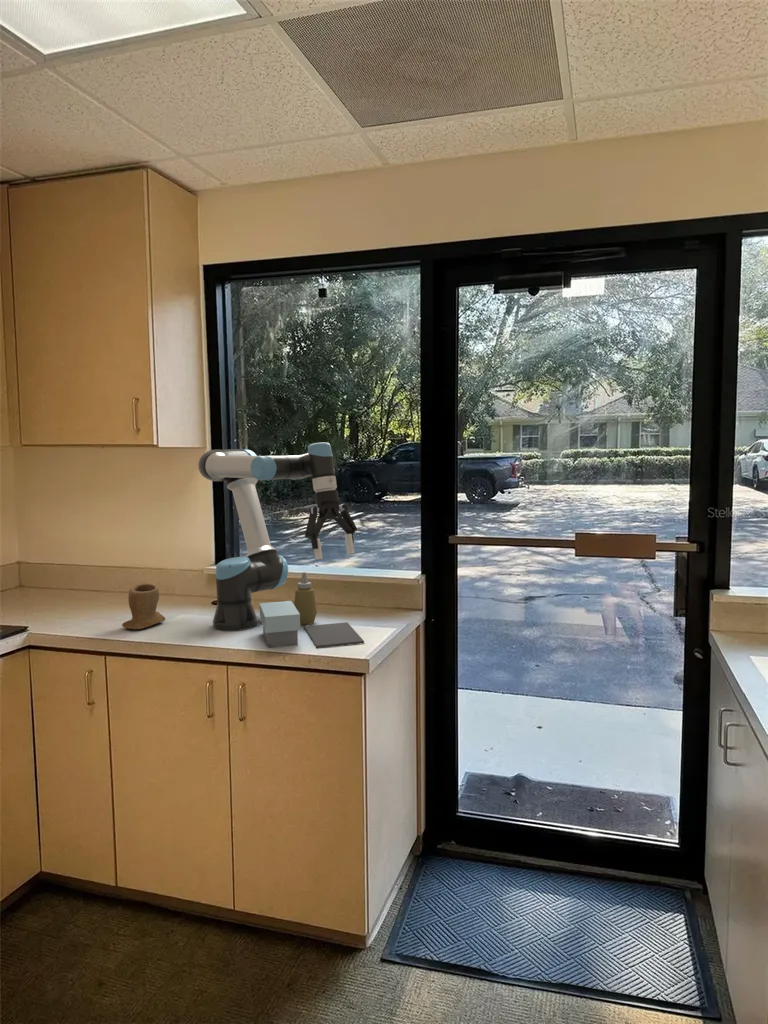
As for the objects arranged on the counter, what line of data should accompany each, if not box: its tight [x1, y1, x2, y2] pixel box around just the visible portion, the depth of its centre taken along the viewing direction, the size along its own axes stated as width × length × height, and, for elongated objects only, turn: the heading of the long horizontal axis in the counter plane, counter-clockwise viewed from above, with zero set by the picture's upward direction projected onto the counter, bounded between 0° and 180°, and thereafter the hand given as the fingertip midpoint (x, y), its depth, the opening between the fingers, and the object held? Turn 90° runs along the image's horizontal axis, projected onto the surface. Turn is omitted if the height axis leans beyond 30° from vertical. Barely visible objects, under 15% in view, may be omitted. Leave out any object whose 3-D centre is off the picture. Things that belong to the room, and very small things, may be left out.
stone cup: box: [121, 583, 166, 630], centre depth 228 cm, size 15×12×15 cm
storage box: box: [262, 626, 299, 649], centre depth 209 cm, size 18×9×9 cm, turn 16°
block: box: [259, 600, 301, 633], centre depth 209 cm, size 20×11×5 cm, turn 16°
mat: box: [303, 621, 365, 649], centre depth 212 cm, size 24×15×1 cm, turn 16°
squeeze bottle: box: [293, 571, 318, 626], centre depth 228 cm, size 8×8×18 cm
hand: (335, 556), depth 207 cm, fingers open, 13 cm apart
